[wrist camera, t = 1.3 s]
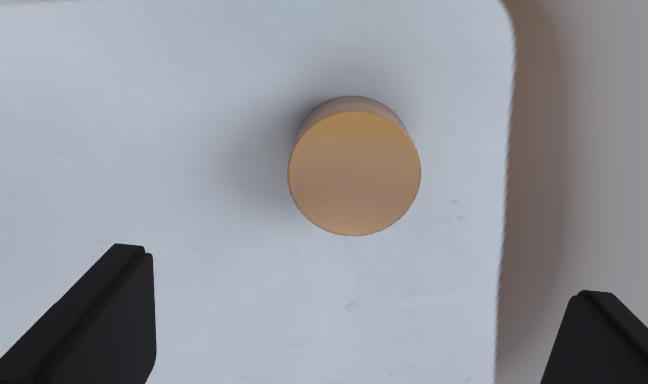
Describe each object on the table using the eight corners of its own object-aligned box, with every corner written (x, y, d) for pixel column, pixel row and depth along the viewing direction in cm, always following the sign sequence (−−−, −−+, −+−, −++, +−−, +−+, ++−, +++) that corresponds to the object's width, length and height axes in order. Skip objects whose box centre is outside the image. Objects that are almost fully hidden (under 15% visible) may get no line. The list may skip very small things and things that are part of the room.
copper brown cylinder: (299, 89, 20) (292, 104, 17) (418, 102, 20) (432, 119, 17) (290, 199, 22) (282, 229, 19) (399, 210, 22) (408, 242, 19)
